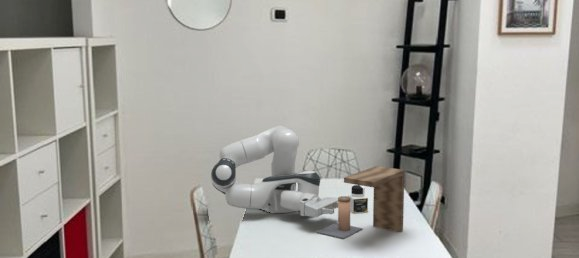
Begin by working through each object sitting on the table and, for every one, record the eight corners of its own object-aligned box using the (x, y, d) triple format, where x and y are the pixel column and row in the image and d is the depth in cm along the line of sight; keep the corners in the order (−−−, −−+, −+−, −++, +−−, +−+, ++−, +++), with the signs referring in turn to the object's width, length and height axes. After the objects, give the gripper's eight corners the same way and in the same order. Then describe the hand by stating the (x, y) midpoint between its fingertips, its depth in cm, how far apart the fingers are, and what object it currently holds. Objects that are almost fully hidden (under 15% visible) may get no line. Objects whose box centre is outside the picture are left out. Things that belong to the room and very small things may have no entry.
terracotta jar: (335, 229, 239) (335, 198, 237) (342, 226, 243) (342, 195, 241) (346, 231, 236) (346, 200, 234) (352, 228, 240) (352, 197, 238)
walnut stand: (343, 241, 226) (343, 177, 222) (375, 225, 246) (376, 166, 242) (372, 248, 218) (373, 182, 214) (402, 230, 238) (404, 169, 234)
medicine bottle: (353, 213, 263) (353, 188, 261) (347, 209, 270) (348, 184, 268) (367, 212, 265) (368, 187, 263) (361, 208, 272) (362, 183, 270)
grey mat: (316, 233, 236) (316, 231, 236) (336, 223, 248) (336, 222, 248) (343, 239, 229) (343, 237, 228) (362, 229, 240) (362, 228, 240)
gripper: (324, 205, 257) (351, 210, 249) (298, 216, 240) (326, 222, 232) (324, 192, 256) (351, 196, 248) (298, 202, 239) (326, 207, 231)
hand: (339, 209), depth 240 cm, fingers open, 8 cm apart
